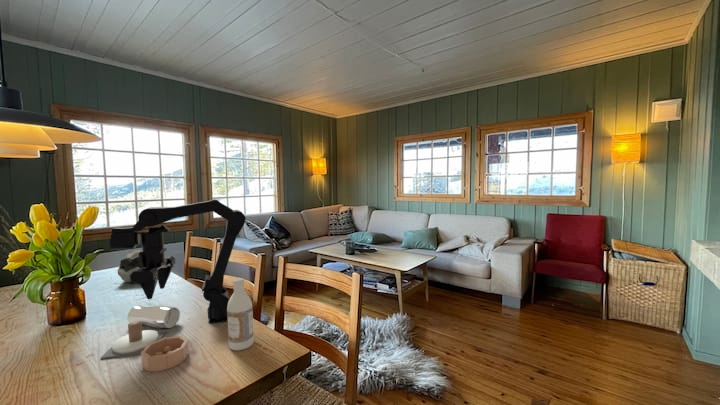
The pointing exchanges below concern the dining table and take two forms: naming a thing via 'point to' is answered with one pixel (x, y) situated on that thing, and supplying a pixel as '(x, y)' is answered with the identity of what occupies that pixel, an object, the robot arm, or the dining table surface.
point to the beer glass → (155, 316)
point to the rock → (124, 274)
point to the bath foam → (240, 318)
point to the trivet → (112, 355)
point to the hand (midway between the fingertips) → (156, 293)
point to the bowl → (164, 354)
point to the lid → (134, 339)
